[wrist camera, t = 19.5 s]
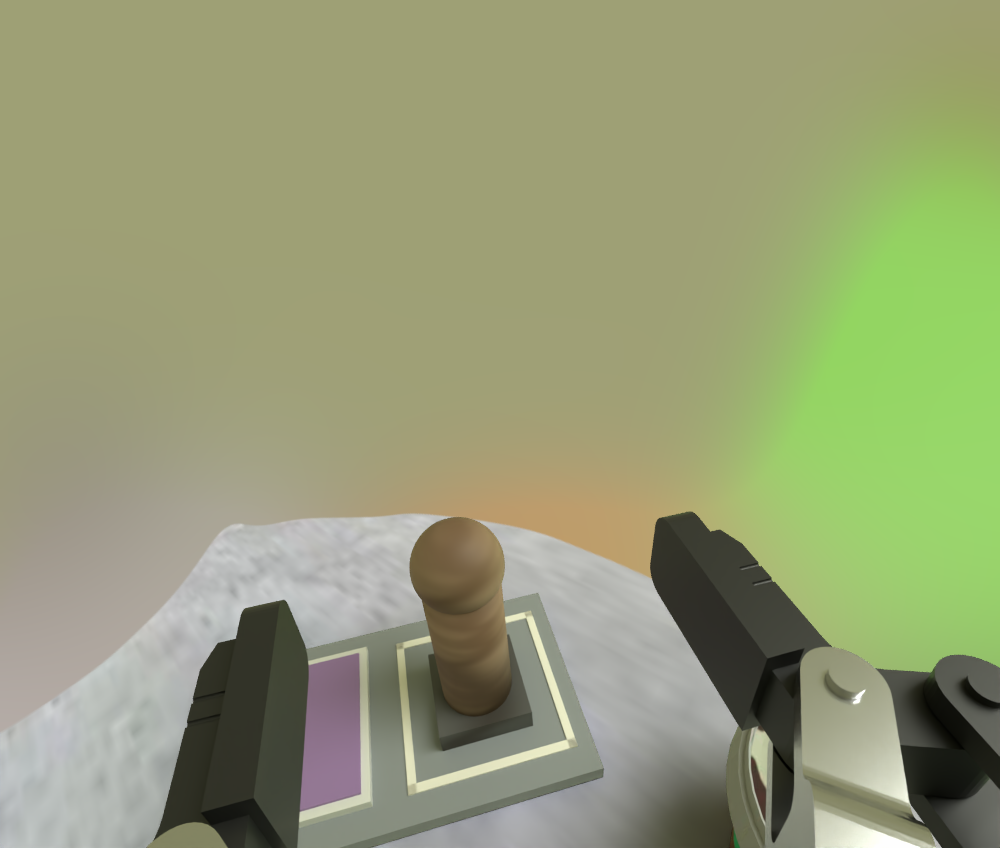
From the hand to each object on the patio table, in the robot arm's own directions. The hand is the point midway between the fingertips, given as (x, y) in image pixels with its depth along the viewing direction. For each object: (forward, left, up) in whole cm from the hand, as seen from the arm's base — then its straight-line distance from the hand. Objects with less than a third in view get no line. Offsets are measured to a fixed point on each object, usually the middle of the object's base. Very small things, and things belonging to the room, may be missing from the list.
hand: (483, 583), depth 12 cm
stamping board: (-6, +13, -25) cm, 29 cm away
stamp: (0, +12, -24) cm, 27 cm away
